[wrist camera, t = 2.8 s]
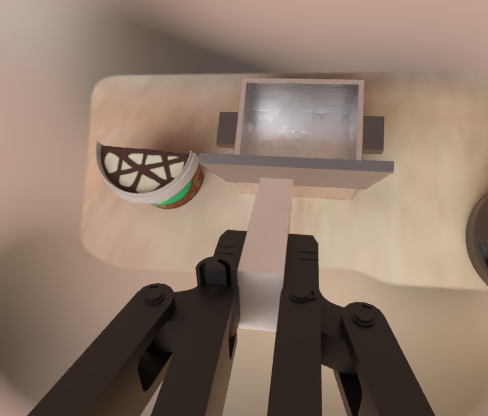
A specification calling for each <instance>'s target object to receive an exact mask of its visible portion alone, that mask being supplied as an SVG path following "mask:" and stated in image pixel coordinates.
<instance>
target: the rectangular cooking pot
mask: <svg viewBox="0 0 488 416" xmlns="http://www.w3.org/2000/svg"><path fill="white" fill-rule="evenodd" d="M363 108H364V80H344V79H281V78H242V83H241V93H240V102H239V112H220V116H219V125H218V134H217V142H216V144H217V146H218V147H223V148H235V150H234V154H236V155H258V156H281V157H303V158H325V159H348V160H362V153H365V154H382V152H383V147H384V117H377V116H363ZM236 184H237V186H238V188H239V190H240V192H241V193H243V194H257V191H258V187H259V184H257V183H239V182H236ZM356 190H357V189H348V188H330V187H312V186H293V190H292V196H293V197H310V198H327V199H344V200H351V199H352V197H353V195H354V193H355V192H356Z"/></svg>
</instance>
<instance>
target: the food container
mask: <svg viewBox="0 0 488 416" xmlns="http://www.w3.org/2000/svg"><path fill="white" fill-rule="evenodd" d="M95 156H96V162H97V166H98V169H99V172H100V174H101V176H102V178H103V179H104V181H105V182H106V183H107V185H108V186H109V187H110V189H111V190H112V191H113V192H115V193H116V194H117V195H118V196H120V197H122V198H123V199H125V200H128V201H130V202H135V203H142V204H151V205H154V206H156V207H158V208H163V209H172V208H177V207H180V206H182V205H184V204H186V203H187V202H189V201H190V200H191V199H192V198H193V197H194V196H195V195H196V194H197V192H198V191H199V189H200V187H201V185H202V182H203V178H204V177H203V175H202V172H201V170H200V168H199V163H198V161H199V156H198V155H197V154H195V153H193V152H192V151H190V154H179V153H170V152H162V151H155V150H148V149H136V148H122V147H112V146H103V145H102V144H100V143H99V142H97V141H96V148H95Z"/></svg>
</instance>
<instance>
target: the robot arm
mask: <svg viewBox="0 0 488 416" xmlns="http://www.w3.org/2000/svg"><path fill="white" fill-rule="evenodd" d="M292 190H293V179H276V178H261V179H260V183H259V187H258V191H257V195H256V199H255V203H254V207H253V211H252V215H251V219H250V223H249V227H248V231H236V230H227V231H226V232H224V233H223V234H222V235H221V236H220V238H219V241H218V244H217V247H216V249H215V253H214V255H213V257H209V258H205V259H203V260H202V261H200V262H199V263H198V264H197V266H196V275H197V284H198V286H197V287H195V288H193V289H190V290H186V291H180V292H173V290H172V289H171V287H169V286H167V285H166V284H160V283H156V284H150V285H148V286H145V287H143V288H142V289H141V290H140V291H138V292H137V293H136V294H135V296H134V297H133V298H132V299H131V300H130V301H129V302H128V303H127V305H126V306H125V307H124V308H123V309H122V310H121V311H120V313H118V315H117V316H116V317H115V318H114V319H113V320H112V321H111V322H110V324H109V325H108V326H107V327H106V328H105V329H104V330H103V331H102V332H101V334H100V335H99V336H98V337H97V338H96V339H95V340H94V341H93V343H92V344H91V345H90V346H89V347H88V348H87V349H86V350H85V352H84V353H83V354H82V355H81V356H80V357H79V359H77V360H76V362H75V363H74V364H73V365H72V366H71V367H70V368H69V370H68V371H67V372H66V373H65V374H64V375H63V376H62V377H61V379H60V380H59V381H58V382H57V383H56V384H55V385H54V386H53V387H52V389H51V390H50V391H49V392H48V393H47V394H46V395H45V396H44V397H43V399H42V400H41V401H40V402H39V403H38V404H37V405H36V406H35V408H34V409H33V410H32V411H31V412H30V413H29V414H28V415H27V416H140V415H141V413H142V412H143V410H144V409H145V407H146V406H147V404H148V402H149V401H150V399H151V398H152V396H153V395H154V393H155V391H156V390H157V388H158V387H159V385H160V384H161V382H162V381H163V383H162V386H161V389H160V391H159V394H158V397H157V400H156V403H155V406H154V408H153V411H152V414H151V416H222V414H223V408H224V404H225V398H226V393H227V389H228V384H229V379H230V374H231V369H232V364H233V359H234V354H235V349H236V344H237V328H238V323H239V328H244V329H253V330H262V331H271V332H276V339H275V348H274V357H273V366H272V375H271V385H270V394H269V403H268V412H267V416H322V394H321V393H322V388H321V387H322V386H321V364H322V365H324V366H327V367H329V368H332V369H333V371H334V375H335V378H336V381H337V384H338V388H339V391H340V394H341V397H342V400H343V404H344V407H345V410H346V413H347V416H435V414H434V412H433V411H432V409H431V407H430V405H429V403H428V401H427V399H426V397H425V395H424V393H423V391H422V389H421V387H420V385H419V383H418V381H417V379H416V377H415V375H414V373H413V371H412V369H411V367H410V366H409V363H408V362H407V360H406V358H405V356H404V354H403V352H402V350H401V348H400V346H399V344H398V342H397V340H396V338H395V336H394V334H393V332H392V330H391V328H390V326H389V324H388V323H387V320H386V318H385V317H384V315H383V314H382V312H381V311H380V310H379V309H377V308H376V307H375V306H373V305H370V304H368V303H364V302H355V303H350V304H348V305H347V306H346V307H341V306H338V305H335V304H333V303H331V302H329V301H327V300H326V299H325V298H324V297H323V296H322V294H321V293H320V291H319V275H318V274H319V273H318V272H319V268H318V243H317V241H316V240H315V238H314V236H313V235H299V234H290V225H291V207H292ZM466 243H467V249H468V254H469V257H470V259H471V262H472V264H473V266H474V268H475V270H476V272H477V273H478V275H479V276H480V277H481V279H482V280H483V281H484V282H485V283H486V284H487V285H488V194H487V195H485V196H484V197H483V198H482V199H481V200H480V201H479V202H478V204H477V205H476V206H475V208H474V210H473V211H472V213H471V215H470V218H469V221H468V225H467V231H466ZM163 379H164V380H163Z"/></svg>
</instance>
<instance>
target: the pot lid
mask: <svg viewBox="0 0 488 416" xmlns="http://www.w3.org/2000/svg"><path fill="white" fill-rule="evenodd" d="M198 163H199V164H201V165H202V166H204V167H205V168H207V169H208V170H210V171H211V172H213V173H215V174H216V175H218V176H219V177H221V178H222V179H224V180H225V181H227V182H239V183H257V184H259V183H260V179H261V178H276V179H293V186H312V187H330V188H348V189H366V188H368V187H370V186H371V185H373V184H375V183H376V182H378V181H380V180H381V179H383V178H385V177H387V176H388V175H390V174H392V173H393V169H394V162H392V161H370V160H348V159H325V158H303V157H281V156H258V155H236V154H213V153H199V161H198Z"/></svg>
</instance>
